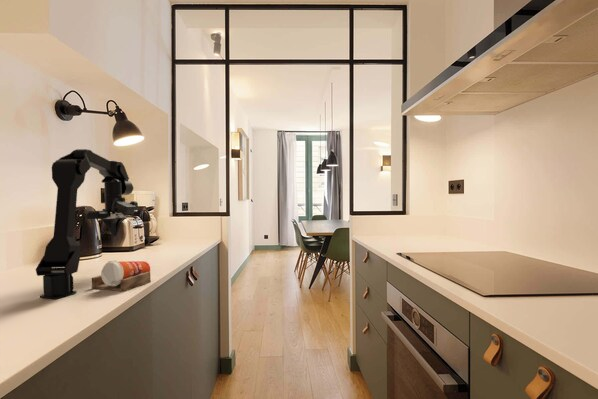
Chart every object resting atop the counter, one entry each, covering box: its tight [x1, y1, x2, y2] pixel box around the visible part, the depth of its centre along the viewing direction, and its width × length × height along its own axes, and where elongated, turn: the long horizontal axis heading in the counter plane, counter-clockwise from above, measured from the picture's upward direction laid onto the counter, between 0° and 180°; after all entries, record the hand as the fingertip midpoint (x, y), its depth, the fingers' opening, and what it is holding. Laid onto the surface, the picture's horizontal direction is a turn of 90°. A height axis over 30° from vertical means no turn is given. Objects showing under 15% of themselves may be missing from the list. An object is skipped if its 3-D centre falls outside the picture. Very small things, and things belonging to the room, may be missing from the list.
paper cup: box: [100, 260, 151, 286], centre depth 111 cm, size 8×8×14 cm
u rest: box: [91, 271, 151, 292], centre depth 110 cm, size 11×12×3 cm
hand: (114, 236), depth 131 cm, fingers closed
